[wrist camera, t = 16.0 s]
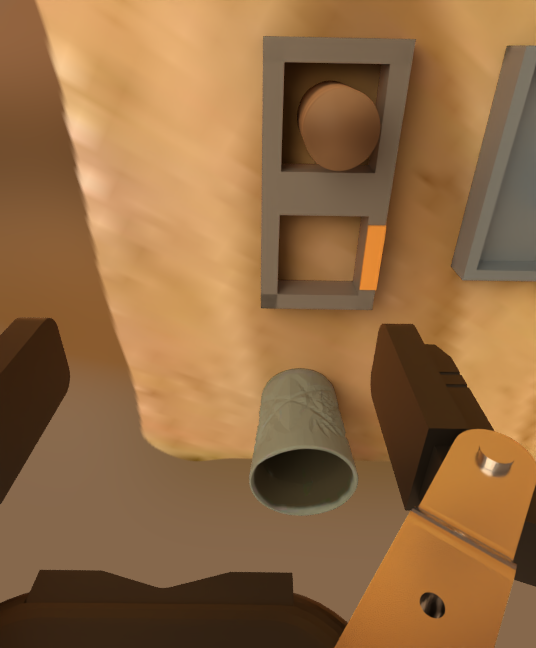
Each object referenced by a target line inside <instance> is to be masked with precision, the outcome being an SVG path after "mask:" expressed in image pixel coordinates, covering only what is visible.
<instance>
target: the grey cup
mask: <svg viewBox="0 0 536 648" xmlns="http://www.w3.org/2000/svg"><path fill="white" fill-rule="evenodd" d="M259 414H260V415H259V417H260V418H259V425H258V431H257V434H256V435H257V436H256V439H255V440H256V443H255V447H254V453H253V459H252V464H251V470H250V476H249V484H250V487H251V490H252V492H253V494H254V496H255V497H256V498H257V500H258V501H260V502H261V503H262V504H263V505H265V506H266V507H268V508H270V509H272V510H274V511H277V512H280V513H284V514H289V515H301V516H302V515H314V514H319V513H324V512H327V511H329V510H332V509H335V508H337V507H339V506H341V505H342V504H344V503H345V502H346V501H347V500H348V499H349V498H350V497H351V496H352V495H353V493H354V492H355V490H356V488H357V485H358V474H357V470H356V466H355V463H354V460H353V457H352V453H351V449H350V446H349V442H348V440H347V438H346V437H345V433H346V432H345V428H344V424H343V421H342V417H341V414H340V411H339V408H338V402H337V398H336V394H335V391H334V388H333V386H332V384H331V383H330V382H329V380H328V379H327V378H326V377H325V376H323V375H322V374H320V373H318V372H316V371H313V370H309V369H290V370H286V371H283V372H281V373H279V374H277V375H275V376H274V377H273V378H271V379H270V380H269V382H268V383H267V384H266V386H265V388H264V390H263V393H262V397H261V406H260V412H259Z"/></svg>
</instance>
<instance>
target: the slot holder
mask: <svg viewBox="0 0 536 648" xmlns="http://www.w3.org/2000/svg"><path fill="white" fill-rule="evenodd" d="M415 41H416V39H381V38H328V37H276V36H263V124H262V238H261V308H276V309H343V310H372V308H373V301H374V295H375V290H376V288H377V282H378V276H379V270H380V264H381V258H382V252H383V245H384V239H385V233H386V221H387V215H388V208H389V202H390V196H391V190H392V184H393V178H394V171H395V165H396V159H397V153H398V147H399V140H400V134H401V128H402V122H403V116H404V109H405V103H406V97H407V91H408V85H409V78H410V72H411V66H412V60H413V54H414V47H415ZM284 62H309V63H362V64H381V70H380V78H379V85H378V93H377V101H376V109H377V111H378V114H379V118H380V134H379V139H378V142H377V144H376V146H375V148H374V150H373V152H372V153H371V154H370V156H369V162H368V165H358V166H356V167H354V168H351V169H348V170H344V171H334V170H329V169H326V168H324V167H322V166H320V165H319V164H281V155H282V122H283V89H284ZM280 215H311V216H361V224H360V231H359V239H358V247H357V254H356V262H355V270H354V277H353V281H305V280H278V253H279V220H280Z"/></svg>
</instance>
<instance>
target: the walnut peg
mask: <svg viewBox="0 0 536 648" xmlns="http://www.w3.org/2000/svg"><path fill="white" fill-rule="evenodd" d="M297 123H298V127H299V130H300V133H301V135H302V138H303V141H304V143H305V146H306V148H307V151H308V153H309V154H310V156H311V157H312V159H313V160H314V161H315V162H316V163H318V164H319V165H320V166H322V167H324V168H326V169H329V170H334V171H344V170H348V169H351V168H354V167H356V166H358V165H359V164H361V163H362V162H364V161H365V160H366V159H367V158H368V157H369V156H370V154H371V153H372V152H373V150H374V148H375V146H376V144H377V142H378V139H379V134H380V118H379V114H378V111H377V109H376V106H375V105H374V103H373V102H372V101H371V99H370V98H369V97H367V96H366V95H365V94H363V93H362V92H360V91H358V90H355V89H353V88H351V87H349V86H347V85H345V84H342V83H340V82H337V81H324V82H320V83H318V84H316V85H314V86H313V87H311V88H310V89H309V90H308V91H307V92H306V93H305V94H304V96H303V97H302V99H301V101H300V104H299V107H298V111H297Z"/></svg>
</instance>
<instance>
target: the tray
mask: <svg viewBox="0 0 536 648" xmlns="http://www.w3.org/2000/svg"><path fill="white" fill-rule="evenodd" d="M451 267H452V268H453V269H454V271H455V272H456V273H457V274H458V275H459V277H460V278H461V279H462V280H485V281H536V46H507V48H506V52H505V56H504V60H503V64H502V68H501V72H500V76H499V80H498V83H497V87H496V91H495V95H494V99H493V103H492V107H491V111H490V115H489V119H488V123H487V127H486V131H485V135H484V138H483V142H482V146H481V150H480V154H479V158H478V162H477V166H476V170H475V174H474V178H473V182H472V186H471V190H470V193H469V197H468V201H467V205H466V209H465V213H464V217H463V221H462V225H461V229H460V233H459V237H458V241H457V245H456V248H455V252H454V256H453V260H452V264H451Z"/></svg>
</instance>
